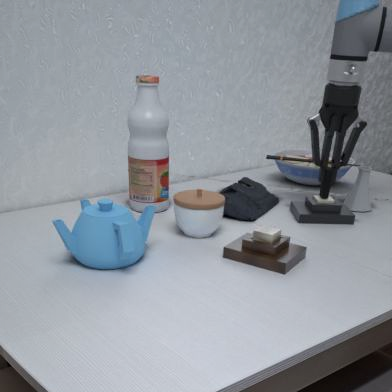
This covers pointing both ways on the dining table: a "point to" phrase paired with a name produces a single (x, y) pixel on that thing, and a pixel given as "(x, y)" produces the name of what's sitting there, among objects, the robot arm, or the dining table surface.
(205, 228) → the trinket box
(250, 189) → the dark slate chunk
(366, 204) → the flask
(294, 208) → the block
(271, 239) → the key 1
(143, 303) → the dining table surface
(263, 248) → the block
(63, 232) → the teapot
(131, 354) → the dining table surface
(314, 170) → the ramen bowl
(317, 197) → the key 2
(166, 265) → the dining table surface
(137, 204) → the fruit juice
